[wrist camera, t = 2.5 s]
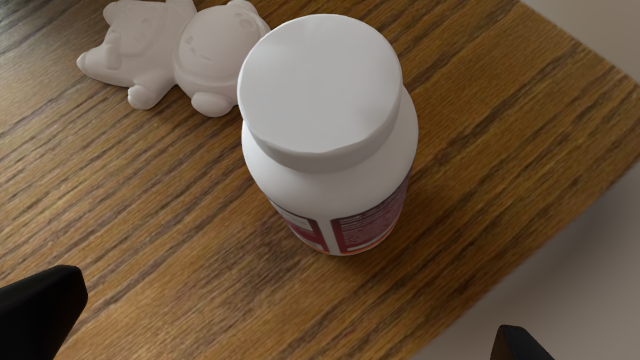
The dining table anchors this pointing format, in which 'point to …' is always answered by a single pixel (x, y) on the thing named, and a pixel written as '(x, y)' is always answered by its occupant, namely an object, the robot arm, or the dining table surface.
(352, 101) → the pill bottle
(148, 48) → the white cartoon figurine
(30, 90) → the dining table surface
